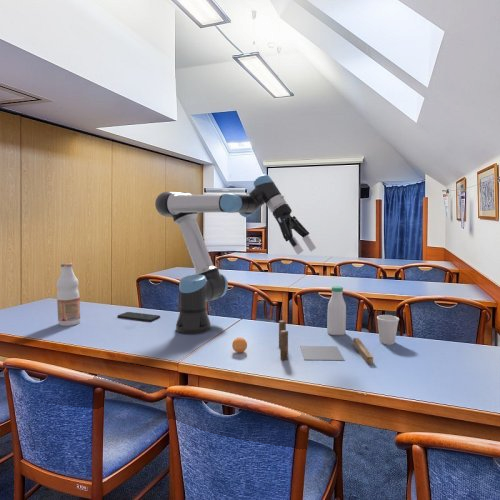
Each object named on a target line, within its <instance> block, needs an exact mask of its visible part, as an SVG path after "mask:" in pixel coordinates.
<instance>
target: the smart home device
mask: <svg viewBox="0 0 500 500" xmlns="http://www.w3.org/2000/svg"><path fill="white" fill-rule="evenodd" d="M117 318H118V319H123V320H124V319H125V320H130V321H131V320H132V321H138V322H139V321H141V322H148V323H153V322H155V321H157V320H158V319H161V315H160V314H159V315H158V314H148V313H144V312H143V313H141V312H132V311H126V312H124V313H119V314H117Z"/></svg>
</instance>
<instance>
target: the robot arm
mask: <svg viewBox="0 0 500 500" xmlns="http://www.w3.org/2000/svg"><path fill="white" fill-rule="evenodd" d="M253 186H254V188H253V189H252V190H251V191H250V192H249V193H248V194H245V193H243V194H242V193H241V194H240V193H235V192H234V193H233V192H228V193H213V194H211V193H210V194H191V193H190V192H185V191H181V192H178V191H164V192H161V193H160V194H158V195H157V197H156V199H155V201H154V206H155V209H156V211H157V212H158V213H159V215H161V216H163V217H167V218H171V217H172V220H173V222H174V224H175V225H177V226H178V227H179V229H180V232H181V234H182V237H183V240H184V243H185V245H186V248H187V251H188V253H189V257H190V259H191V262H192V264H193V267H194V270H195V274H192V275H189V274H188V275H186V276H183V277H182V278H180V280H179V286H178V290H179V314H178V318H177V320H176V323H175V325H176V326H175V331H176V332H178V333H180V334H184V335H196V334H197V335H198V334H203V333H206V332H208V331H209V332H210V330H211V324H212V323H211V321H210V317H209V315H208V312H207V302H211V301H214V300H218V299H221V298H222V297H223V296H225V295H226V293H227V292H228V288H229V283H228V279H227V277H226V276H225V275H224V274H223V273H221V272H220V271H219V269H218V267H217V266H215V265H214V263H213V261H212V259H211V257H210V253H209V251H208V249H207V246H206V243H205V240H204V237H203V235H202V232H201V229H200V226H199V224H198V221H197V218H198V216H199V214H198V213H227V214H231V213H232V214H234V213H235V214H236V213H237V214H239V215H241V216H242V217H244V218H248V217H250V216H251V215H253V214H254V213H255V212H257V211H258V210H259V209H260V208H261V207H262V206H264V204H265V205H266V206H267V208H268V210H269V211H270V213H272V216H273V217H274V219H275V220H276V222H277V224H278V226H279V228H280V231H281V234H282V237H283V239H284V240H285V241H286V242H288V241H289V244H290V245H291V247H292V249H293V250H294V251H295V253H296V255H300V254H301V253H303V251H304V249H303V248H302V246H301V244H300V243H299V242H298V240H297V238H296V236H294V235H293V231H295V232H296V233H297V234H298V235H299V236H301V237H302V241H303V242H304V243H305V245H306V247H307V248H308V250H309V251H310V252H313V251H314V250H316V249H317V246H315V244H314V242H313V241H312V239H311V238H310V236H309V235H310V232H309V231H308V230H307V229H306V228H305V227H304V225H303V224H302V223H301V222H300V221H299V220H298V219H297V217H296V216H294V215H293V216H292V215H291V214H292V212H293V209H292V208H291V206H290V205H289V204H288V203H287V201H286V199H285V195H282V193H281V192H280V190H279V188H278V187H277V185H276V184H275V182H274V181H273V179H272V178H271V177H270V176H269V175H268V174H262V175H260V176H258V177H257V178H255V180H254V181H253Z"/></svg>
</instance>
